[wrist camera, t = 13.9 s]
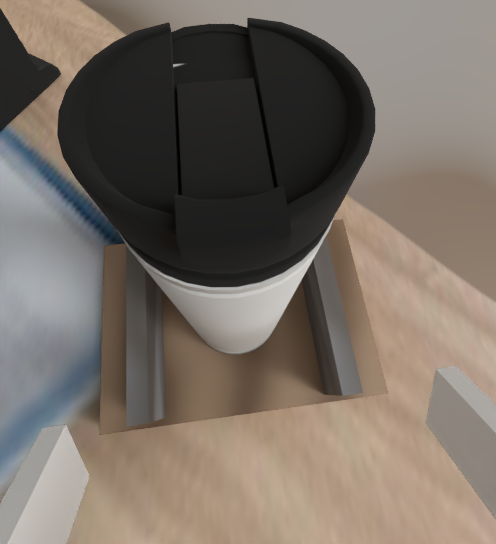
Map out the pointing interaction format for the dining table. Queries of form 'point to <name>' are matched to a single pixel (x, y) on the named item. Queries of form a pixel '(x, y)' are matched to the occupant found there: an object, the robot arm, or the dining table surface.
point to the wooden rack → (224, 367)
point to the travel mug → (220, 162)
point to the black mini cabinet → (19, 74)
